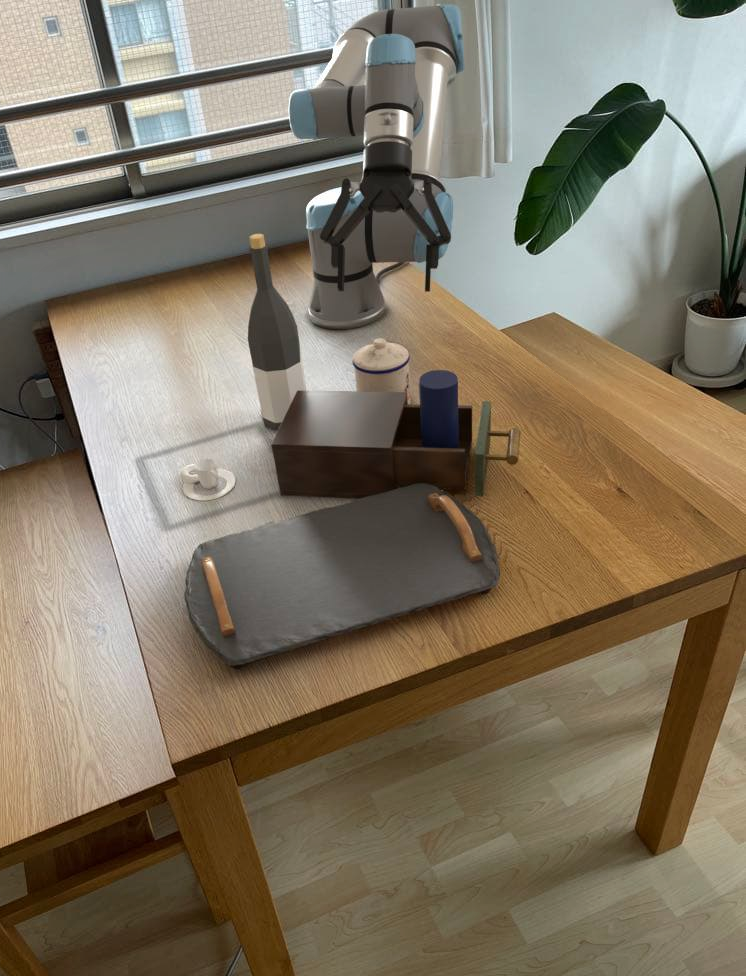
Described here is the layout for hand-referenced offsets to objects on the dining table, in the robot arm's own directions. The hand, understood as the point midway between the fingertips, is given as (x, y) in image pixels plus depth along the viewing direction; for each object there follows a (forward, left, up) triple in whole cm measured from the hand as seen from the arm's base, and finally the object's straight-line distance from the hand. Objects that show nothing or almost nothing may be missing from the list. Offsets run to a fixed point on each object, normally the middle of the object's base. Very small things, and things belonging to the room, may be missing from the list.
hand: (383, 290), depth 128 cm
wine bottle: (+10, -16, -18) cm, 26 cm away
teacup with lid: (+4, -1, -18) cm, 18 cm away
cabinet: (+24, -3, -17) cm, 30 cm away
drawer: (+24, +12, -17) cm, 31 cm away
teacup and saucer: (+26, -23, -18) cm, 39 cm away
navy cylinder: (+24, +11, -15) cm, 30 cm away
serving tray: (+48, +1, -18) cm, 51 cm away
